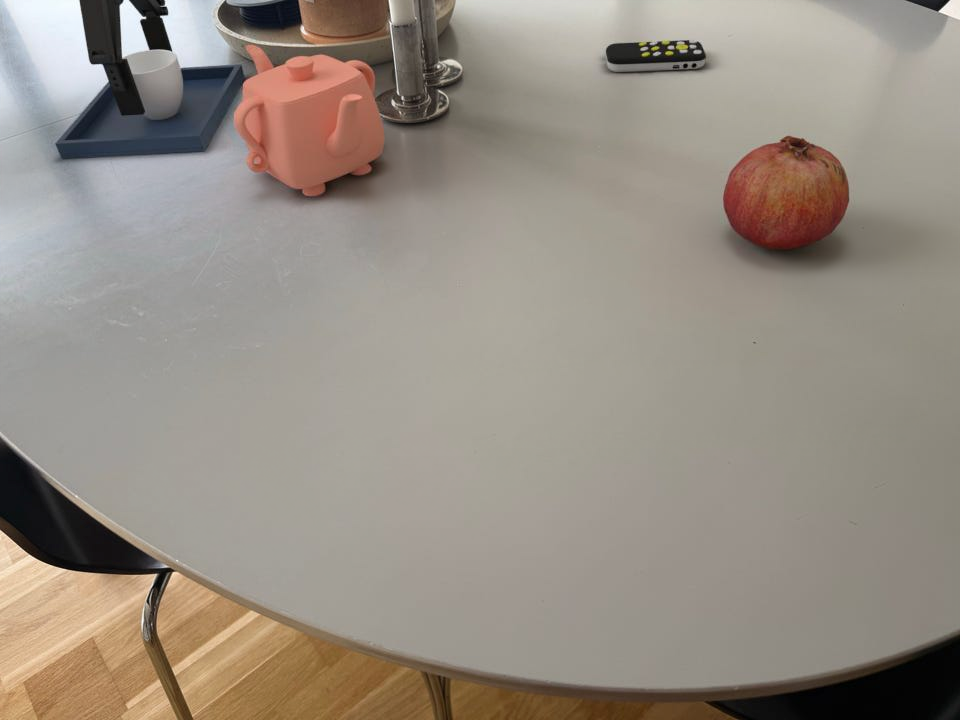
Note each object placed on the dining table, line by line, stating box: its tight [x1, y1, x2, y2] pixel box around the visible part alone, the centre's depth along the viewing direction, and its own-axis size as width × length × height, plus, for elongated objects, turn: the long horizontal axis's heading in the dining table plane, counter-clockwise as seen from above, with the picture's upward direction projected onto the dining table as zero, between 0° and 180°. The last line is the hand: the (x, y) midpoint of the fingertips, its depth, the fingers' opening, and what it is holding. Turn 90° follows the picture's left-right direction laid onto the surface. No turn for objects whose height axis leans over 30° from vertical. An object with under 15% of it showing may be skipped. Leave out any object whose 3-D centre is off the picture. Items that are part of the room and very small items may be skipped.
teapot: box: [233, 44, 385, 197], centre depth 88 cm, size 15×17×13 cm
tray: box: [54, 63, 246, 160], centre depth 106 cm, size 22×18×2 cm
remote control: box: [605, 39, 707, 73], centre depth 108 cm, size 6×13×2 cm, turn 87°
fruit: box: [722, 135, 850, 250], centre depth 73 cm, size 11×10×10 cm
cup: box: [122, 49, 183, 120], centre depth 104 cm, size 8×10×7 cm
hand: (151, 90), depth 104 cm, fingers open, 13 cm apart
